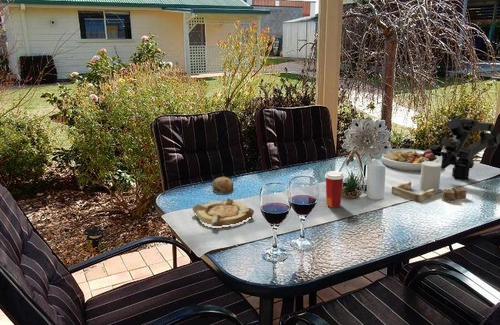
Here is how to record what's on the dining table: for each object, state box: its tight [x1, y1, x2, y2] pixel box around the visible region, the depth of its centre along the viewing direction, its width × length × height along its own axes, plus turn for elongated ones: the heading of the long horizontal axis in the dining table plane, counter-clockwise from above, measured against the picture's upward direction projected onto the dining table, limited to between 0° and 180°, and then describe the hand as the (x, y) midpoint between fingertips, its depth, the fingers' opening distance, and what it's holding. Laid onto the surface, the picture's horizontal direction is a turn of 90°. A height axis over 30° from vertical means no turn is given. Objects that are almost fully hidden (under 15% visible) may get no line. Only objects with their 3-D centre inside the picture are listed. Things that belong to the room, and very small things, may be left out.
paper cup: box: [324, 170, 345, 208], centre depth 176 cm, size 8×8×14 cm
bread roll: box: [211, 176, 234, 194], centre depth 199 cm, size 10×10×8 cm
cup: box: [419, 161, 442, 193], centre depth 193 cm, size 8×8×12 cm
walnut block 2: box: [451, 186, 468, 201], centre depth 183 cm, size 4×4×4 cm
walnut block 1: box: [441, 188, 455, 203], centre depth 181 cm, size 4×4×4 cm
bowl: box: [380, 148, 440, 172], centre depth 232 cm, size 30×30×8 cm
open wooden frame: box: [391, 180, 436, 203], centre depth 188 cm, size 12×13×3 cm
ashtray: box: [192, 197, 255, 226], centre depth 169 cm, size 24×24×5 cm
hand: (441, 168), depth 197 cm, fingers closed
